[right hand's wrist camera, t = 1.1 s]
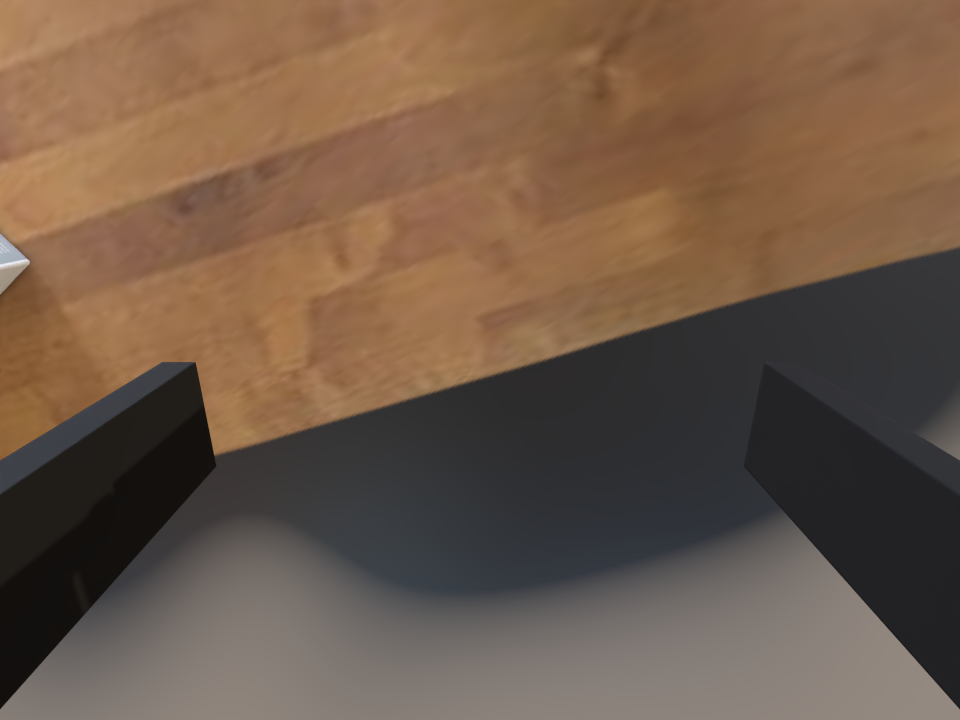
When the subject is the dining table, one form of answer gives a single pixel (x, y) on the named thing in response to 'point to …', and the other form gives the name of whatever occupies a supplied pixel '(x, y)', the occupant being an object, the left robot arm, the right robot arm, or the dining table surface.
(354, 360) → the dining table surface
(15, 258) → the hard drive box
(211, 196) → the dining table surface
